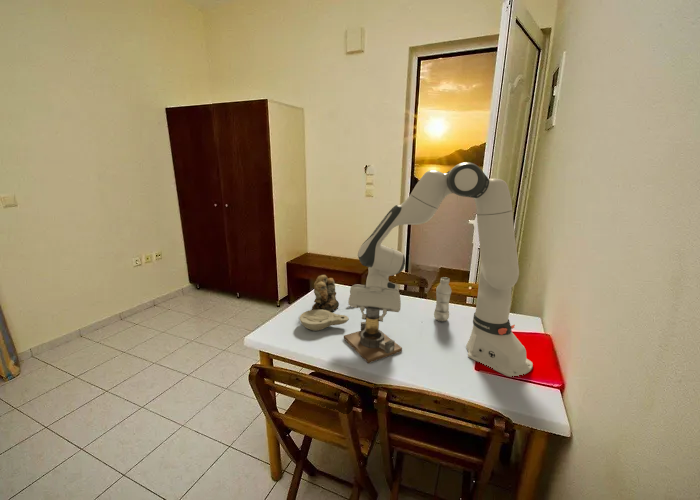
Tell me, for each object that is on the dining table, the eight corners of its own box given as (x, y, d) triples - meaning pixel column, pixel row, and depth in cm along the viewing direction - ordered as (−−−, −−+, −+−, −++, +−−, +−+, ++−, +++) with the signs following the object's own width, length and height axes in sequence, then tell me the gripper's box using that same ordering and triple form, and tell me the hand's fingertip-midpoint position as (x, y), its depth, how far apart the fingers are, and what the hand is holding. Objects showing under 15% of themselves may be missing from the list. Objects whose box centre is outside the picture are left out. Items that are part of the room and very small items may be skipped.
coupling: (381, 332, 116) (382, 310, 114) (369, 335, 114) (370, 313, 111) (373, 326, 120) (374, 305, 118) (363, 329, 118) (363, 307, 115)
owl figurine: (329, 318, 139) (328, 283, 135) (305, 314, 143) (304, 279, 139) (343, 302, 156) (343, 270, 151) (322, 299, 159) (321, 268, 155)
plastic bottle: (451, 321, 137) (456, 280, 132) (439, 324, 135) (443, 281, 130) (442, 315, 143) (446, 275, 138) (430, 317, 140) (434, 277, 135)
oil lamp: (348, 318, 139) (349, 308, 137) (348, 335, 125) (348, 324, 124) (303, 317, 139) (302, 307, 138) (297, 334, 125) (296, 323, 124)
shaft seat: (402, 352, 114) (403, 339, 113) (369, 363, 107) (369, 351, 106) (374, 329, 130) (374, 318, 129) (343, 338, 123) (343, 326, 121)
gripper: (350, 280, 121) (344, 314, 114) (402, 285, 117) (399, 320, 110) (352, 286, 126) (346, 319, 120) (402, 292, 122) (399, 325, 116)
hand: (372, 320), depth 115 cm, fingers closed on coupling, 5 cm apart
